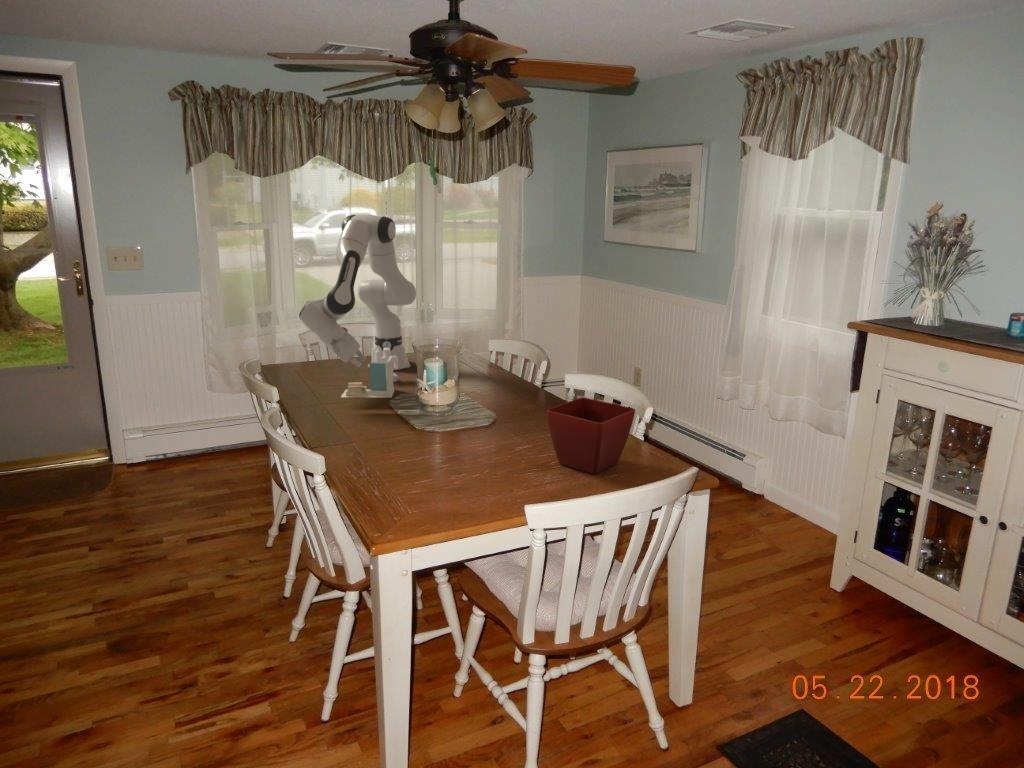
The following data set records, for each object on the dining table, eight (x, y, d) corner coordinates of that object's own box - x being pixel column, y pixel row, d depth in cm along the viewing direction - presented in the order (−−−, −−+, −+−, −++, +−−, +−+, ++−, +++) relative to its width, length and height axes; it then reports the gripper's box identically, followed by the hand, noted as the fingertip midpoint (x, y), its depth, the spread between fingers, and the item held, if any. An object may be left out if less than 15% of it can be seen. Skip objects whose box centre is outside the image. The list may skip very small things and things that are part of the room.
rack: (346, 393, 279) (344, 355, 275) (394, 393, 280) (393, 355, 276) (340, 401, 268) (338, 362, 264) (391, 401, 269) (390, 362, 265)
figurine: (401, 384, 292) (401, 348, 288) (380, 387, 287) (378, 351, 283) (395, 380, 298) (394, 345, 294) (373, 383, 293) (372, 347, 289)
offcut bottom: (349, 390, 277) (349, 385, 277) (366, 390, 277) (366, 386, 277) (345, 396, 269) (345, 391, 269) (363, 396, 270) (363, 391, 269)
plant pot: (580, 447, 224) (582, 396, 219) (633, 462, 212) (636, 408, 208) (543, 464, 209) (544, 409, 205) (598, 481, 198) (601, 423, 193)
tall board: (371, 392, 274) (370, 362, 271) (386, 392, 275) (386, 362, 272) (370, 393, 273) (369, 363, 270) (386, 394, 273) (385, 363, 270)
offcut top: (348, 387, 275) (348, 382, 274) (362, 386, 276) (362, 382, 275) (347, 391, 269) (347, 387, 268) (362, 391, 270) (361, 386, 269)
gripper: (335, 337, 257) (363, 363, 260) (346, 326, 277) (372, 351, 280) (323, 349, 258) (352, 375, 261) (335, 338, 278) (361, 362, 281)
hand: (362, 363), depth 270 cm, fingers open, 8 cm apart
